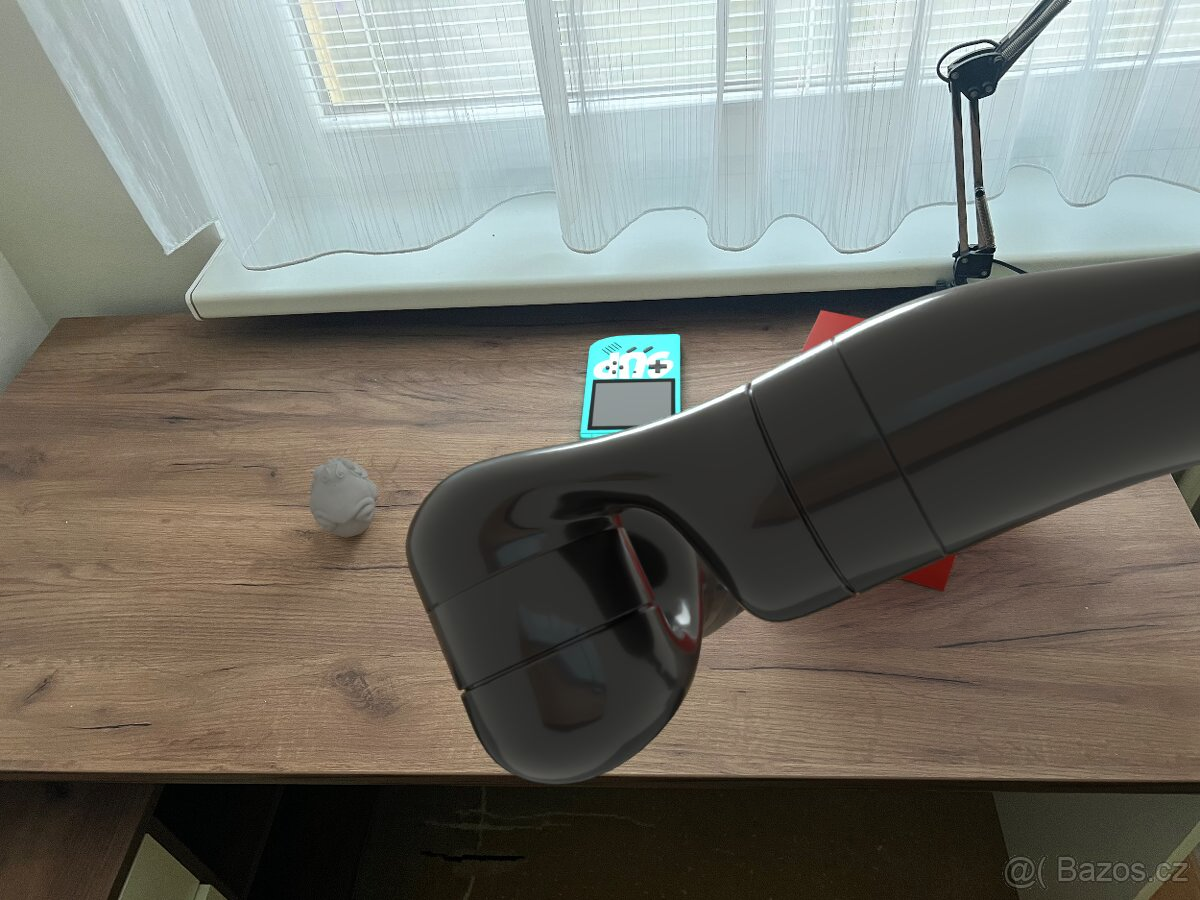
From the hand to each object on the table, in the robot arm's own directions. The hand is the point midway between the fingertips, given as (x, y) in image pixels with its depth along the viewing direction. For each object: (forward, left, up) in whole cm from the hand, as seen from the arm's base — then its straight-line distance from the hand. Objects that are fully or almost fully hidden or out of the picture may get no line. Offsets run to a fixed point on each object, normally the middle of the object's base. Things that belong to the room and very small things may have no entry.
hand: (746, 538), depth 59 cm
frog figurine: (+37, +1, -14) cm, 40 cm away
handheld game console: (+20, -25, -14) cm, 35 cm away
